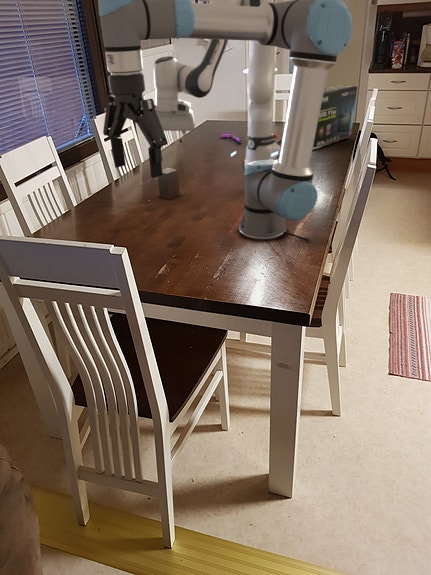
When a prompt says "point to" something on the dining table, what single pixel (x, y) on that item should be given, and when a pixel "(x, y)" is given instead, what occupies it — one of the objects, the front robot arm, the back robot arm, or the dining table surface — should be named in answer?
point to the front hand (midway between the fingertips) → (138, 171)
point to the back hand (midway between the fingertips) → (169, 142)
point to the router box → (335, 114)
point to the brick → (168, 183)
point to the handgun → (232, 138)
